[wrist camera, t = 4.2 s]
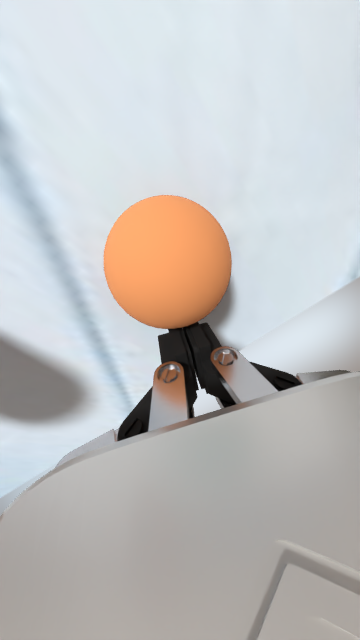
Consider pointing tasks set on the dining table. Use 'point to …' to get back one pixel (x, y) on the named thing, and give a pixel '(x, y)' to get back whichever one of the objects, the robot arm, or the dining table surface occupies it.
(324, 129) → the dining table surface
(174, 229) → the ball
